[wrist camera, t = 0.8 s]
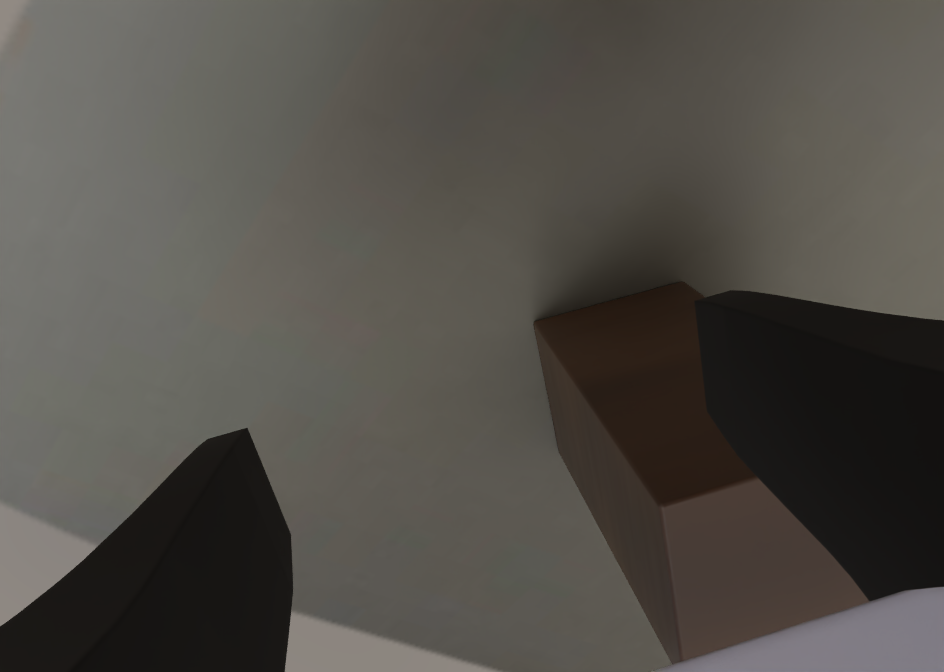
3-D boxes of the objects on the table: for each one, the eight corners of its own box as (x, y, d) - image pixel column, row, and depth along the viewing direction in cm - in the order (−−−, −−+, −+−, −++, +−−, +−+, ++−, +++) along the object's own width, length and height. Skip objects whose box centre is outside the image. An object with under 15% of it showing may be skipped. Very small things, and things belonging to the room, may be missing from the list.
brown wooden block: (697, 413, 23) (897, 623, 15) (558, 453, 23) (684, 690, 15) (683, 279, 21) (900, 434, 13) (532, 321, 21) (659, 506, 13)
